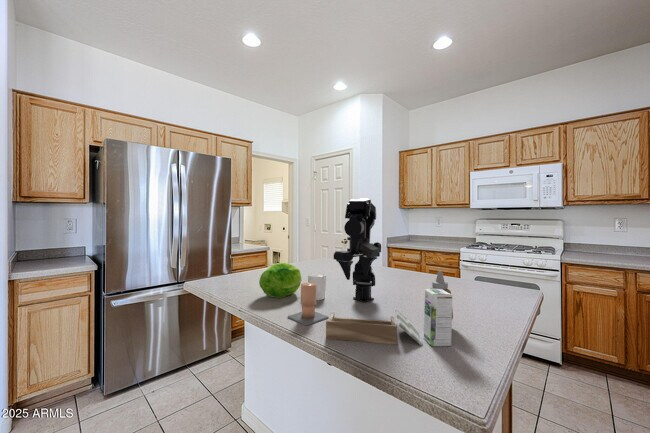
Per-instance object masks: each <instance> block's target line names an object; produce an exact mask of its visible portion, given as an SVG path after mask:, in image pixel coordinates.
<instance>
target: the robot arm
mask: <svg viewBox="0 0 650 433" xmlns="http://www.w3.org/2000/svg"><path fill="white" fill-rule="evenodd" d="M344 219H348V220H347V221H346V222H345V224H344V226H343V227H344V232H345V233H346V235H347V236H348V237H347V238H346V239H347V241H349V248H346V249H347V250H336V251H335V252H334V253H333V260H335V261H336V262H338V265H339V266H340V268H341V269H342V272H343V275H344V276H345V279H346V280H347V281H350V279H351V267H352V264H353V263H354V261H353V259H354V258H356V257H359V258H358V261H357V262H356V263H355V264H354V267H353V268H354V269H353V271H352V286H355V291H354V292H355V296H354V297H353V298H352V299H354V300H356V301H359V302H362V303H366V302H371V301H374V299H375V298H374V297H372V287H376V274H375V272H374V271H373V267H372V263H373V262H374V261H375V260H377V259H378V257H380V254H381V253H382V244H381V243H380V242H374V243H371V230H372V229H373V227H374V225H375V220H377V207H376V206H375V205H374V204H373V203H372V199H370V198H359V199H349V201H348V202H347V204H346V208H345V215H344Z"/></svg>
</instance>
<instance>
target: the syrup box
mask: <svg viewBox="0 0 650 433" xmlns="http://www.w3.org/2000/svg"><path fill="white" fill-rule="evenodd" d="M423 308H424V311H423V312H424V315H423V339H424V340H425V341H426V342H427V343H428V344H429V345H430V346H431V347H450V346H452V326H453V324H452V323H453V319H452V309H453V294H452V293H451V294H450V293H448V292H446V291H444V290H443V289H430V288H426V289H424V307H423Z"/></svg>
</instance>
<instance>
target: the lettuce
mask: <svg viewBox="0 0 650 433" xmlns="http://www.w3.org/2000/svg"><path fill="white" fill-rule="evenodd" d="M301 284H302V273H301V271H300V269H299V268H298V267H296V266H295V265H292V264H290V263H287V262H278V263H274V264H272V265H271V266H269V267H268V268H266V269H265V270H264V271H263V272H262V274H261V275H260V277H259V287H260V289H261V290H262V291H263V294H265V295H266V296H268V297H270V298H276V299H282V298H286V297H288V296H291V295H292V294H294V293H296V292H297V291H298V290H299V288H300V287H301Z"/></svg>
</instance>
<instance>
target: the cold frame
mask: <svg viewBox="0 0 650 433" xmlns="http://www.w3.org/2000/svg"><path fill="white" fill-rule="evenodd" d="M395 315H396V319H397V323H398V325H396V322H395V317H394V316H390V320H380V319H365V318H351V317H349V318H348V317H335V312H331V314H330V317H329V318H328V319H329V320H328V319H325V320H326V321H325V339H326V340H337V341H350V342H351V341H352V342H362V343H363V342H364V343H373V344H374V343H376V344H387V345H388V344H389V345H398V327H400V328H401V329H402V330H403V331H404V332H405V333H406V334H407V335H408V336H410V337H411V338H412V339H413V340H414V341H415V342H416V343H417V344H419V346H423V345H424V344H423V342H422V338H421V336H420V334H419V333H420V332H419V330H418V329H417V326H416V325H415V324H413V323H412V321H410V320H409V319H407V317H405V316H404V315H403V314H402V313H401V312H400V311H399V310H398V309H395Z"/></svg>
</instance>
